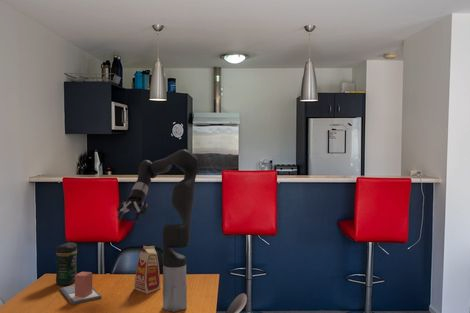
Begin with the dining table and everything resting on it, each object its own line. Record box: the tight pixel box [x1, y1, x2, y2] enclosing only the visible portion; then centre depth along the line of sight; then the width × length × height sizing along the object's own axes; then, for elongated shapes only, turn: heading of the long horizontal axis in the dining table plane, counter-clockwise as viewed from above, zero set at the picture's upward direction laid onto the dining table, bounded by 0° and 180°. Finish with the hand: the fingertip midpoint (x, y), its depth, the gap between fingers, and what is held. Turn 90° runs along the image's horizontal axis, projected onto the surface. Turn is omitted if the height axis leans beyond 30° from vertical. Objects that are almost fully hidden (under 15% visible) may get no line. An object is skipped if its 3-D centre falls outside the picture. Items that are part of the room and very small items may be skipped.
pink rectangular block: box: [74, 271, 93, 297], centre depth 171 cm, size 5×5×9 cm
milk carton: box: [133, 245, 161, 295], centre depth 182 cm, size 9×9×20 cm
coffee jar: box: [55, 241, 78, 286], centre depth 189 cm, size 10×8×19 cm
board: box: [59, 284, 102, 305], centre depth 175 cm, size 20×12×1 cm, turn 36°
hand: (127, 219), depth 191 cm, fingers open, 8 cm apart
